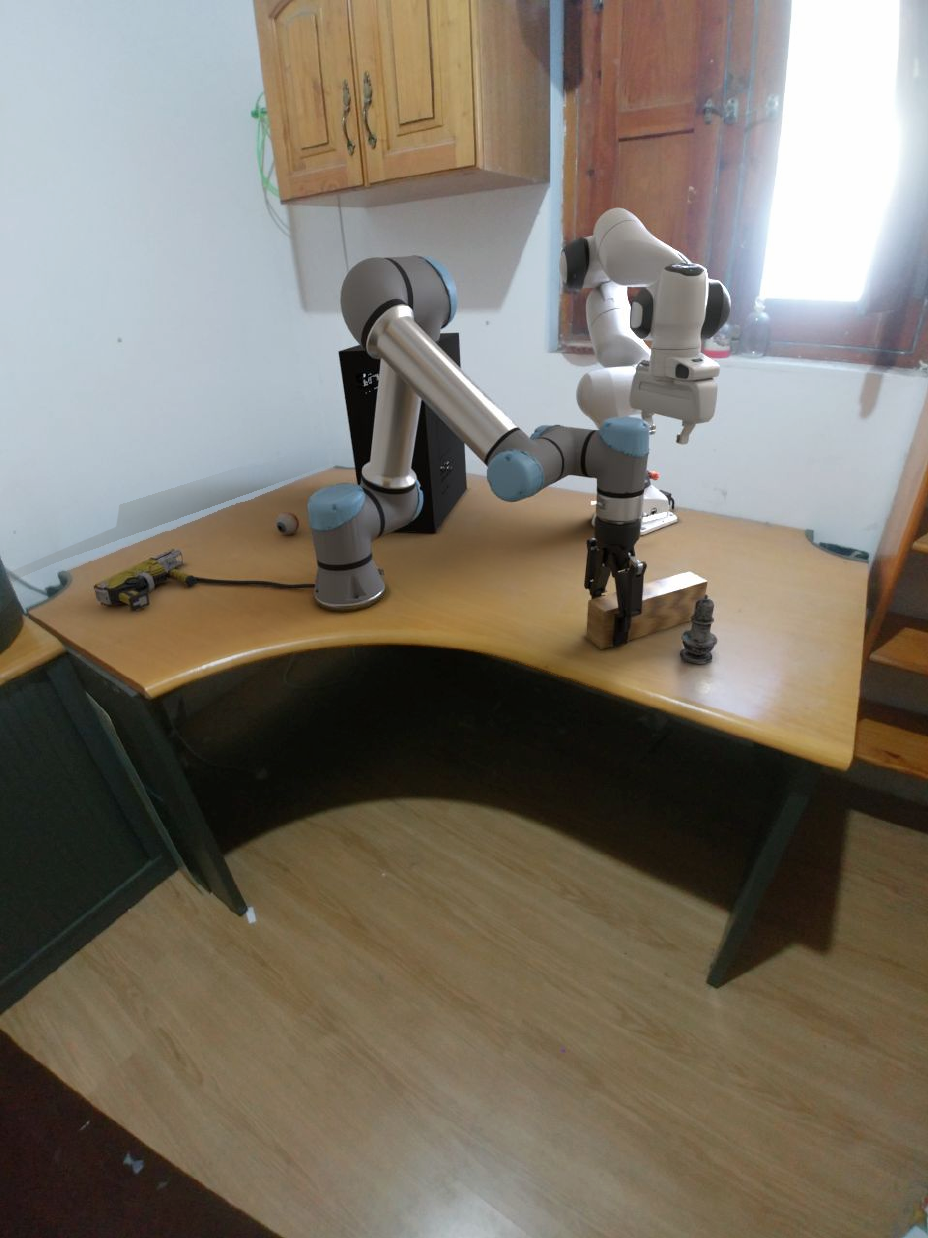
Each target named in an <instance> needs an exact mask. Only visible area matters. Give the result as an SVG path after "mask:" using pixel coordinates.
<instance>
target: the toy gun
mask: <svg viewBox="0 0 928 1238" xmlns="http://www.w3.org/2000/svg"><path fill="white" fill-rule="evenodd" d="M179 557H181V560H177V558H179ZM183 564H184V558H183V552H182V551H181V550H179V549H174V548H171V549H169V550H167V551H164V552H163V553H161V554H159V555H156V556H155V557H150V558H148V559H146V560H144V561H142V562H139V563H138V564H135V565H133V566H131V567H129V568H127V569H125V570H122V571H120V572H118V573H116V574H113V575H112V576H110V577H108V578H106V579H104V580H101V581H99V582H97V583H95V584H93V590H94V594H95V598H96V600H97V603H99V604H100V605H101V606H105V607H107V606H117V605H121V604H127V605H128V606H129V607H130V611H131V612H136V611H138V610H141V609H143V608H145V607H147V606H148V607H149V606H150V599H149V595H148V593H149V592H151V591H154V590H155V586H156V585H159V584H161V583H164V582H165V581H168V579H171V580H174V581H177V582H178V583H182V584H183V585H184V584H185V585H186V586H187V587H193V586H195V585H196V584H197V581H196V578H195V577H196V576H194V575H192V574H188V573H186V572H184V571H180V570H179V569H176V568H177V567H180V565H183ZM168 571H170V572H168Z"/></svg>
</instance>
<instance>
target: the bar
mask: <svg viewBox="0 0 928 1238" xmlns="http://www.w3.org/2000/svg"><path fill="white" fill-rule="evenodd" d="M707 588H708V580H707V579H705V578H703V577H701V576H700V575H697V574H695V573H693V572H691V571H686V572H685V571H684V572H682V573H677V574H675V575H672V576H667V577H664V578H661V579H657V580H654V581H651V582H646V583H643V599H642V613H641V614H640V615H637V616H634V617H632V619H631V629H630V630H629V632H628V642H629V641H632V640H635V639H639V638H642V637H645V636H648V635H651V634H654V633H657V632H660V631H663V630H667V629H669V628H672V627H675V626H679V625H682V624H685V623H688V622H692V619H691V616H692V615H694V611H695V605H696V601H697V600H698V599H701V598H705V597H704V596H705V595H706V594H707ZM616 613H619V610H618V602H617V594H616V591H615V592H612V593H610V594H605V596H601V597H598V598H594V599H591V598H590V599H588V600H587V615H586V631H585V633H586V634H585V638H586V639H588V640H589V641H590V642H592V643H593V644H594V645H595V646H597V647H598V648H599V649H601V650H605V649H607V648H611V647H614V646H613V634H614V622H615V614H616Z"/></svg>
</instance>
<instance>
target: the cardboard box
mask: <svg viewBox="0 0 928 1238" xmlns="http://www.w3.org/2000/svg"><path fill="white" fill-rule="evenodd" d="M460 343H461V342H460V332H440V337H439V343H438V346H439V347H440V348H441V349H442V350H443V351H444V352H445V353H446V354H447V355H448V356H449V357H450V358H451V359H452V360H453V361H454V362H455V363H456V364H457V365H458V366H459V367H460V368H461V369H462V367H461V365H462V363H461V345H460ZM338 359H339V366H340V373H341V378H342V379H341V381H342V387H343V395H344V402H345V407H346V409H345V410H346V414H347V415H346V417H347V420H348V421H347V422H348V428H349V437H350V441H351V442H350V443H351V450H352V456H353V463H354V471H355V479H356V484H357V485H360V484H361V476H362V468H363V467H364V465H366V464H367V463H369V462H370V460H371V450H372V440H373V431H374V421H375V412H376V402H377V393H378V383H379V373H380V364H381V359H375V358H372V357H371V356H370V355H369V354H368V353H367V352H366V351H365V350H364V349H363V348H362V347H361V345H360V344H358V345H354V346H351V347H348V348H345V349H341V350H339V351H338ZM411 469H412V470H413V471H414V472H415V474H416V477H417V478H416V479H417V480H418V482H419V484H420V487H419V488H420V490H421V491H422V493H423V505H422V509H421V511H420V513H419V515H418V516H417V517H416V518H415V519H414V520H413V521H411V522H410V523H409V524H407V525H406V526H404V527H402V528H399V529H397V530H394V531H393V532H394V533H395V532H397V533H423V534H425V533H426V534H436V533H437V531H438V530H439V529H440V527H441V526H442V525H443V523H444V522H445V520H446V519H447V517H448V516H449V514H450V512H452V510H453V509H454V507H455V506H456V505H457V503H458V502H459V500H460V499H461V497H462V496H463V495H464V493H465V492H466V491H467V489H468V486H467V485H468V484H467V483H468V482H467V481H468V480H467V466H466V444H465V443H464V442H463V441H462V440H461V439H460V438H459V437H458V436H457V435H456V434H455V433H454V432H453V431H452V430H451V429H450V428H449V427H448V426H447V425H446V424H445V423H444V422H443V421H442V420H441V419H440V417H439V416H438V415H437V414H436V413H435V412H434V411H433V410H432V409H431V408H430V407H429V406H428V405H427V404H426V403H425V402H424V401H423V400H422V399H421V405H420V412H419V418H418V425H417V431H416V438H415V444H414V451H413V457H412V464H411Z"/></svg>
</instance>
